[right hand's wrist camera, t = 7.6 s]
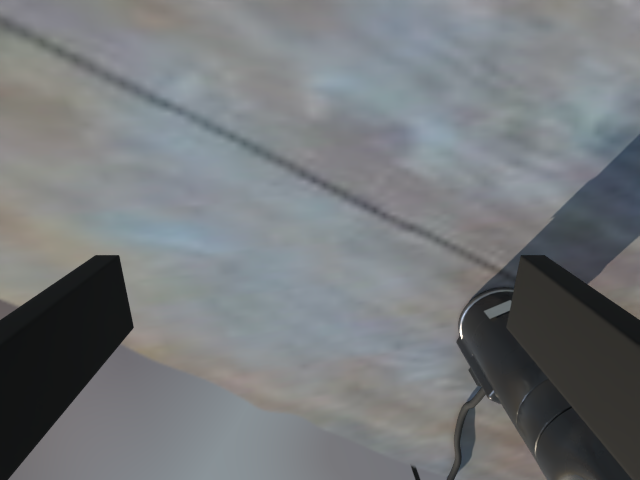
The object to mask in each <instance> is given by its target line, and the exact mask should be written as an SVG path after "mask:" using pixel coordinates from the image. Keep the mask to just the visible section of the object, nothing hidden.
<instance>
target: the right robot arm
mask: <svg viewBox="0 0 640 480" xmlns="http://www.w3.org/2000/svg"><path fill="white" fill-rule="evenodd" d="M133 328H134V327H133V322H132V317H131V312H130V307H129V302H128V297H127V292H126V287H125V282H124V277H123V272H122V267H121V262H120V257H119V255H95V256H94V257H92V258H91V259H89V260H88V261H87V262H85V263H84V264H82V265H81V266H79V267H78V268H76V269H75V270H73V271H72V272H70V273H69V274H67V275H66V276H64V277H63V278H62V279H60V280H59V281H57V282H56V283H54V284H53V285H51V286H50V287H48V288H47V289H45V290H44V291H42V292H41V293H39V294H38V295H37V296H35V297H34V298H32V299H31V300H29V301H28V302H26V303H25V304H23V305H22V306H20V307H19V308H17V309H16V310H15V311H13V312H12V313H10V314H9V315H7V316H6V317H4V318H3V319H1V320H0V480H8V479H9V478H10V476H11V475H12V474H13V473H14V472H15V470H16V469H17V468H18V467H19V466H20V464H21V463H22V462H23V461H24V459H25V458H26V457H27V456H28V455H29V453H30V452H31V451H32V450H33V449H34V447H35V446H36V445H37V444H38V442H39V441H40V440H41V439H42V438H43V437H44V435H45V434H46V433H47V432H48V430H49V429H50V428H51V427H52V426H53V424H54V423H55V422H56V421H57V420H58V418H59V417H60V416H61V415H62V414H63V412H64V411H65V410H66V409H67V408H68V406H69V405H70V404H71V403H72V402H73V400H74V399H75V398H76V397H77V395H78V394H79V393H80V392H81V391H82V389H83V388H84V387H85V386H86V385H87V383H88V382H89V381H90V380H91V379H92V377H93V376H94V375H95V374H96V373H97V371H98V370H99V369H100V368H101V366H102V365H103V364H104V363H105V362H106V360H107V359H108V358H109V357H110V356H111V354H112V353H113V352H114V351H115V350H116V348H117V347H118V346H119V345H120V344H121V342H122V341H123V340H124V339H125V338H126V336H127V335H128V334H129V333H130V331H131V330H132V329H133ZM506 328H507V329H508V330H509V332H510V333H511V334H512V335H513V336H514V338H515V339H516V340H517V341H518V342H519V344H520V345H521V346H522V347H523V348H524V350H525V351H526V352H527V353H528V354H529V356H530V357H531V358H532V359H533V360H534V362H535V363H536V364H537V365H538V367H539V368H540V369H541V370H542V371H543V373H544V374H545V375H546V376H547V377H548V379H549V380H550V381H551V382H552V383H553V385H554V386H555V387H556V388H557V389H558V391H559V392H560V393H561V394H562V395H563V397H564V398H565V399H566V400H567V402H568V403H569V404H570V405H571V406H572V408H573V409H574V410H575V411H576V412H577V414H578V415H579V416H580V417H581V418H582V420H583V421H584V422H585V423H586V424H587V426H588V427H589V428H590V429H591V431H592V432H593V433H594V434H595V435H596V437H597V438H598V439H599V440H600V441H601V443H602V444H603V445H604V446H605V447H606V449H607V450H608V451H609V452H610V453H611V455H612V456H613V457H614V458H615V459H616V461H617V462H618V463H619V464H620V466H621V467H622V468H623V469H624V470H625V472H626V473H627V474H628V475H629V476H630V478H631V479H632V480H640V320H639V319H637V318H636V317H634V316H633V315H631V314H630V313H628V312H627V311H625V310H624V309H623V308H621V307H620V306H618V305H617V304H615V303H614V302H612V301H611V300H609V299H608V298H606V297H605V296H603V295H602V294H601V293H599V292H598V291H596V290H595V289H593V288H592V287H590V286H589V285H587V284H586V283H584V282H583V281H581V280H580V279H578V278H577V277H576V276H574V275H573V274H571V273H570V272H568V271H567V270H565V269H564V268H562V267H561V266H559V265H558V264H556V263H555V262H553V261H552V260H551V259H549V258H548V257H546V256H545V255H521V257H520V262H519V267H518V272H517V277H516V282H515V287H514V292H513V297H512V302H511V307H510V312H509V317H508V322H507V327H506Z"/></svg>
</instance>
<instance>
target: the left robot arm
mask: <svg viewBox="0 0 640 480" xmlns="http://www.w3.org/2000/svg"><path fill="white" fill-rule="evenodd" d="M513 292H514V289H513V288H496V289H491V290H488V291H485V292H483V293H481V294H479V295H478V296H476V297H475V298H473V299H472V300H471V301H470V302H469V303H468V304H467V305H466V307H465V308H464V310H463V311H462V313H461V315H460V318H459V323H458V330H459V335H460V336H459V338H458V340H457V344H458V346H459V348H460V350H461V351H462V353H463V355H464V357H465V358H466V360H467V362H468V364H469V365H470V369H469V372H470V374H471V376H472V377H473V379H474V381H475V383H476V385H478V386H481V387H482V388H481V389H480V390H479V392H478V393H477V394H476V395H475V397H474V398H473V399H472V400H471V401H469V402H466V403H465V404H464V405H463V407H462V409H461V411H460V414H459V417H458V420H457V424H456V429H455V435H454V447H455V462H454V464H453V467H452V469H451V472H450V474H449V476H448V478H447V480H454V478H455V476H456V474H457V472H458V469H459V467H460V464H461V449H460V437H461V432H462V427H463V423H464V419H465V417H466V414H467V412H468V410H469V409H470V408H473V407H475V406H476V405H477V404H478V403H479V402H480V401H481V400H482V398H483V397H484V396H485V395H487V397H488V398H489V399H490V400H492V401H494V402H497V403H499V404H502V406H503V407H504V409H505V411H506V412H507V414H508V416H509V417H510V419H511V421H512V422H513V424H514V426H515V427H516V429H517V431H518V432H519V434H520V436H521V437H522V439H523V440H524V442H525V444H526V445H527V447H528V449H529V450H530V452H531V454H532V455H533V457H534V459H535V460H536V462H537V464H538V465H539V467H540V469H541V471H542V472H543V474H544V476H545V477H546V479H547V480H632V479H631V478H630V476H629V475H628V474H627V473H626V472H625V470H624V469H623V468H622V467H621V466H620V464H619V463H618V462H617V461H616V459H615V458H614V457H613V456H612V455H611V453H610V452H609V451H608V450H607V449H606V447H605V446H604V445H603V444H602V443H601V441H600V440H599V439H598V438H597V437H596V435H595V434H594V433H593V432H592V431H591V429H590V428H589V427H588V426H587V424H586V423H585V422H584V421H583V420H582V418H581V417H580V416H579V415H578V414H577V412H576V411H575V410H574V409H573V408H572V406H571V405H570V404H569V403H568V402H567V400H566V399H565V398H564V397H563V395H562V394H561V393H560V392H559V391H558V389H557V388H556V387H555V386H554V385H553V383H552V382H551V381H550V380H549V379H548V377H547V376H546V375H545V374H544V373H543V371H542V370H541V369H540V368H539V367H538V365H537V364H536V363H535V362H534V360H533V359H532V358H531V357H530V356H529V354H528V353H527V352H526V351H525V350H524V348H523V347H522V346H521V345H520V344H519V342H518V341H517V340H516V339H515V338H514V336H513V335H512V334H511V333H510V332H509V330H508V329H507V328H506V327H507V322H508V317H509V312H510V307H511V302H512V297H513ZM411 468H412V471H413V474H414V477H415V480H420V477H419V474H418V471H417V468H416V467H415V466H411Z"/></svg>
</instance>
